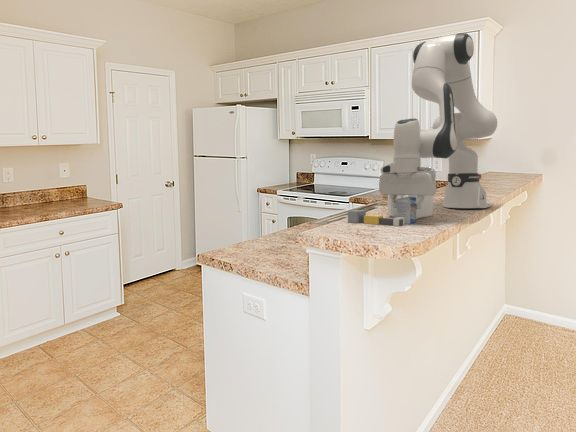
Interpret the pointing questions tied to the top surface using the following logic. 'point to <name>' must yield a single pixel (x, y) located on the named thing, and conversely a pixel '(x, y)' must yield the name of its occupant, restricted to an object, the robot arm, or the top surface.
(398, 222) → the yellow and black bar
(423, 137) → the robot arm
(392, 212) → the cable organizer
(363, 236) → the top surface
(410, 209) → the medicine box
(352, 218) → the grey block
